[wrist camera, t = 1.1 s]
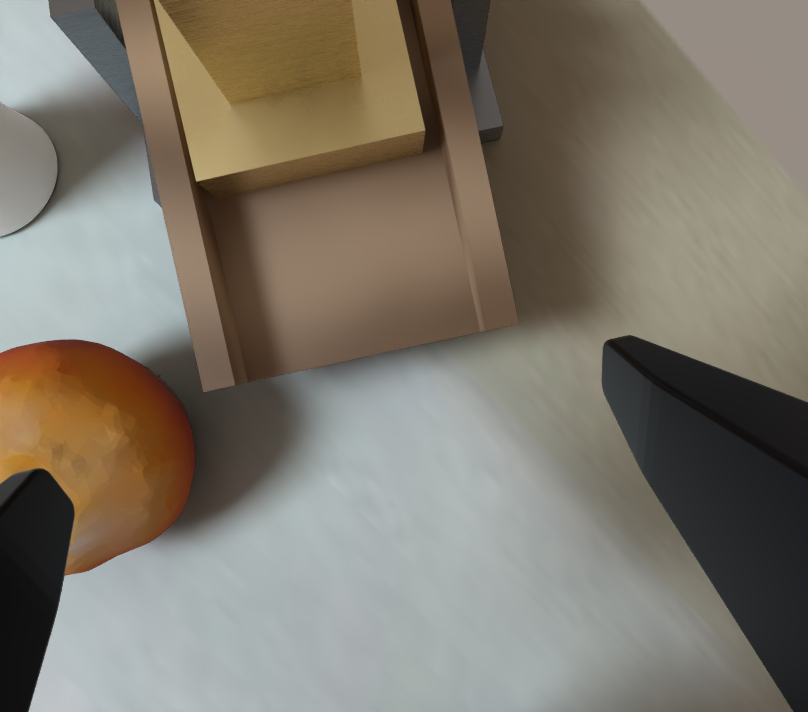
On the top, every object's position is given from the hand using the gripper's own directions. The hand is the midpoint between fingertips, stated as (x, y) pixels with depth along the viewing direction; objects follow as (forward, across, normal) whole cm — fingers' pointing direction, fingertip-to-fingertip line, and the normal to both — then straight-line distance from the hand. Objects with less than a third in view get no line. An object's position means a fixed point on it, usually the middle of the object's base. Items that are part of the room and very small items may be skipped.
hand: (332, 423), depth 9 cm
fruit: (+11, +11, +8) cm, 18 cm away
